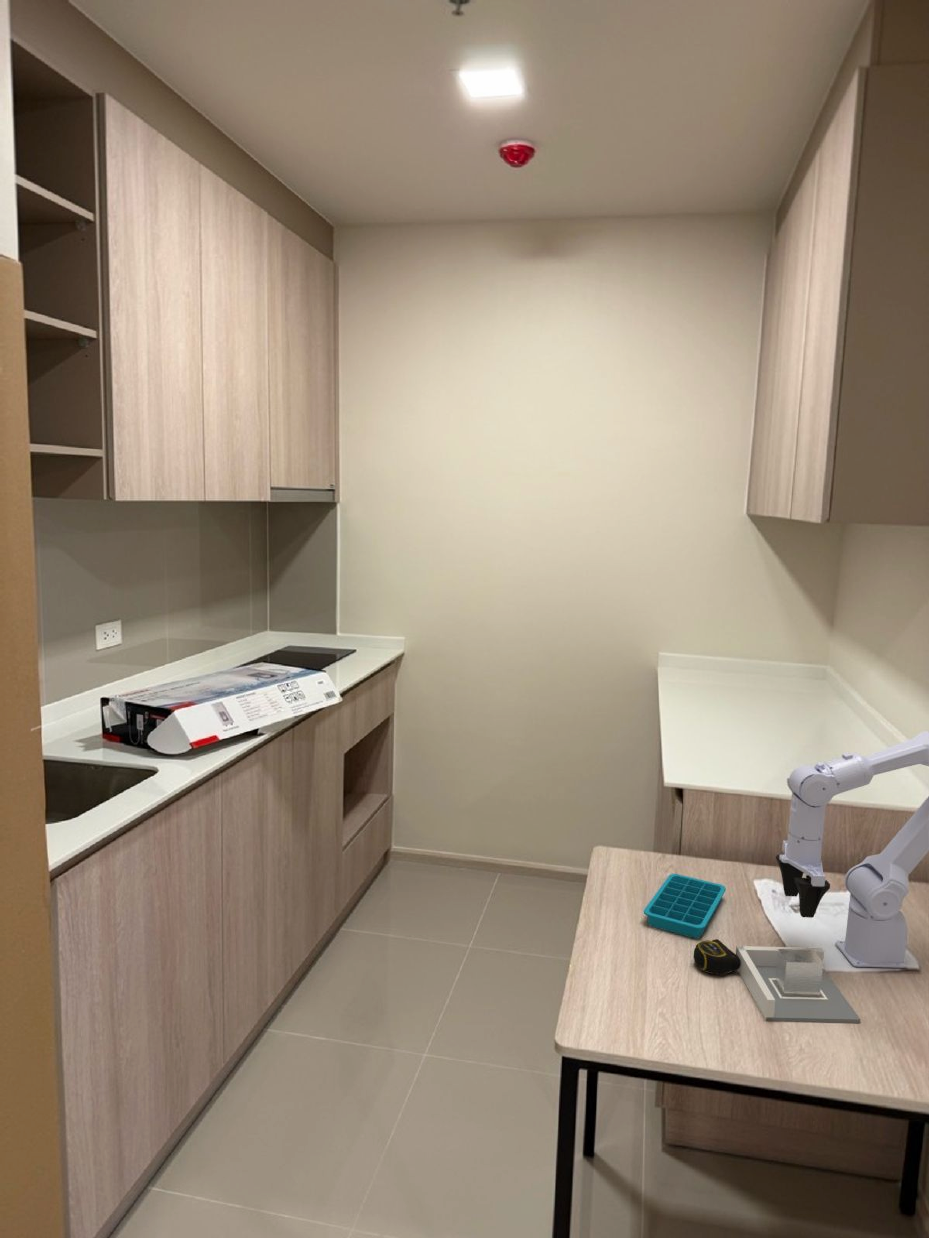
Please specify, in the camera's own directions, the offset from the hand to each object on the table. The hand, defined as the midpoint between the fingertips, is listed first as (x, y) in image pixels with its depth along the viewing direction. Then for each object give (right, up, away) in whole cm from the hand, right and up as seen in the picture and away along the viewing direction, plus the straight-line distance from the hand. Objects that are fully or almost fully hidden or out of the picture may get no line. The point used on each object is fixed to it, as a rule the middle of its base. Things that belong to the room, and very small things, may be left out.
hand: (798, 905), depth 156 cm
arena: (-5, -11, -10) cm, 16 cm away
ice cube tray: (-16, -7, +16) cm, 24 cm away
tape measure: (-16, -10, -3) cm, 19 cm away
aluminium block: (-4, -11, -10) cm, 15 cm away
